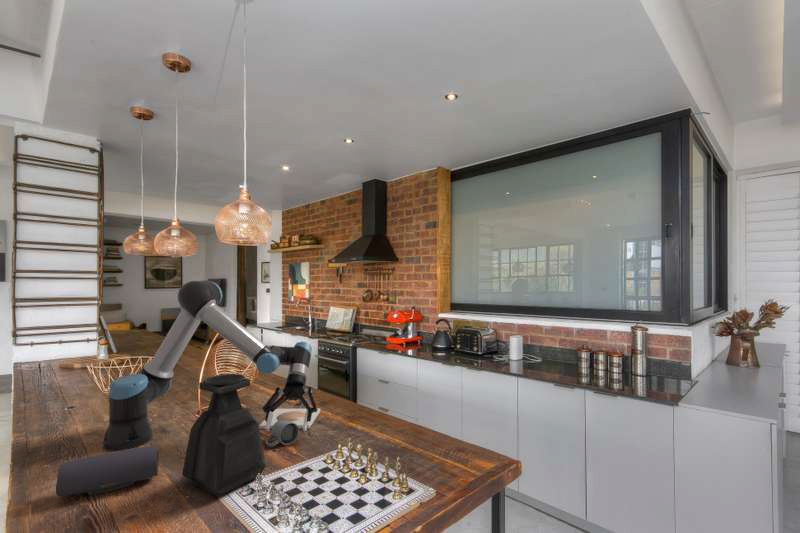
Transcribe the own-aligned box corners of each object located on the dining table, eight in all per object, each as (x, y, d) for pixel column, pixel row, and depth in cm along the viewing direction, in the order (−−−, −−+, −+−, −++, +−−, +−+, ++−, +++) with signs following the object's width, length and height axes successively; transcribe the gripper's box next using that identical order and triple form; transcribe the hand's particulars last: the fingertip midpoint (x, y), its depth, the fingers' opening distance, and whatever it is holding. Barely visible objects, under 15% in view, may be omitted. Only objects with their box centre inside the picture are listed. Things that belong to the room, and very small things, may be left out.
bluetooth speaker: (158, 471, 122) (159, 439, 122) (156, 485, 114) (156, 450, 114) (64, 491, 111) (65, 455, 111) (54, 508, 103) (55, 469, 103)
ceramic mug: (288, 435, 149) (288, 415, 149) (299, 441, 143) (299, 420, 143) (261, 444, 141) (261, 422, 142) (272, 451, 136) (271, 428, 136)
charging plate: (309, 428, 156) (309, 423, 156) (259, 428, 156) (259, 423, 156) (325, 403, 187) (325, 398, 187) (283, 403, 187) (283, 399, 187)
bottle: (180, 484, 114) (181, 380, 115) (232, 461, 128) (232, 369, 129) (215, 503, 104) (216, 389, 105) (267, 476, 118) (267, 376, 119)
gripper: (329, 382, 159) (321, 434, 144) (268, 382, 160) (254, 434, 144) (326, 372, 154) (318, 425, 139) (263, 372, 155) (248, 425, 139)
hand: (285, 430), depth 142 cm, fingers open, 13 cm apart
